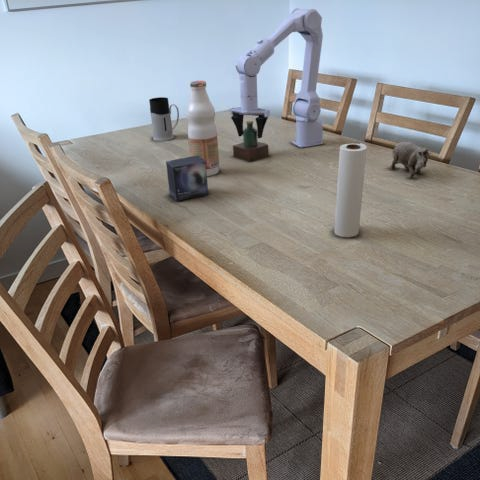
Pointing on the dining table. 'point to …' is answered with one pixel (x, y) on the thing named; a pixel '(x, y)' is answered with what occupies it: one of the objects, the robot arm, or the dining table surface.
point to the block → (250, 151)
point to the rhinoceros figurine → (410, 157)
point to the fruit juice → (202, 127)
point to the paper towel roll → (349, 189)
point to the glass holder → (162, 118)
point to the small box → (187, 177)
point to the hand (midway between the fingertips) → (250, 136)
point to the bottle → (250, 135)
